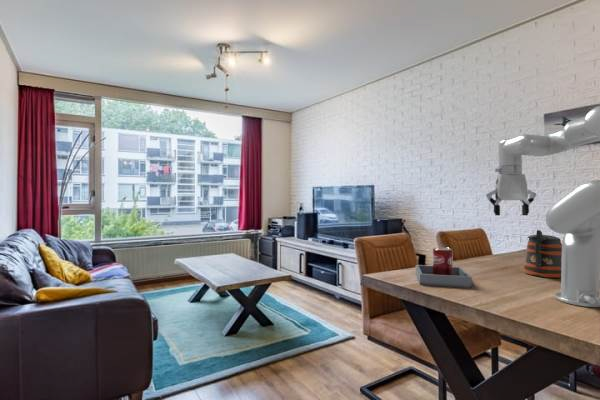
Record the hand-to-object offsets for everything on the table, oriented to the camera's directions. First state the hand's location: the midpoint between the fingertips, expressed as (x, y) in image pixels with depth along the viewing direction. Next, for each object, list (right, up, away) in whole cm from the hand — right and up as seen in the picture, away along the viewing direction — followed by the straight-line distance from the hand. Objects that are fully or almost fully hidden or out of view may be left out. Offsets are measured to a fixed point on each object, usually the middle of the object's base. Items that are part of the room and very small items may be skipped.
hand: (511, 215), depth 129 cm
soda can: (-25, -26, +5) cm, 36 cm away
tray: (-25, -26, +5) cm, 37 cm away
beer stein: (+23, -27, +14) cm, 38 cm away
